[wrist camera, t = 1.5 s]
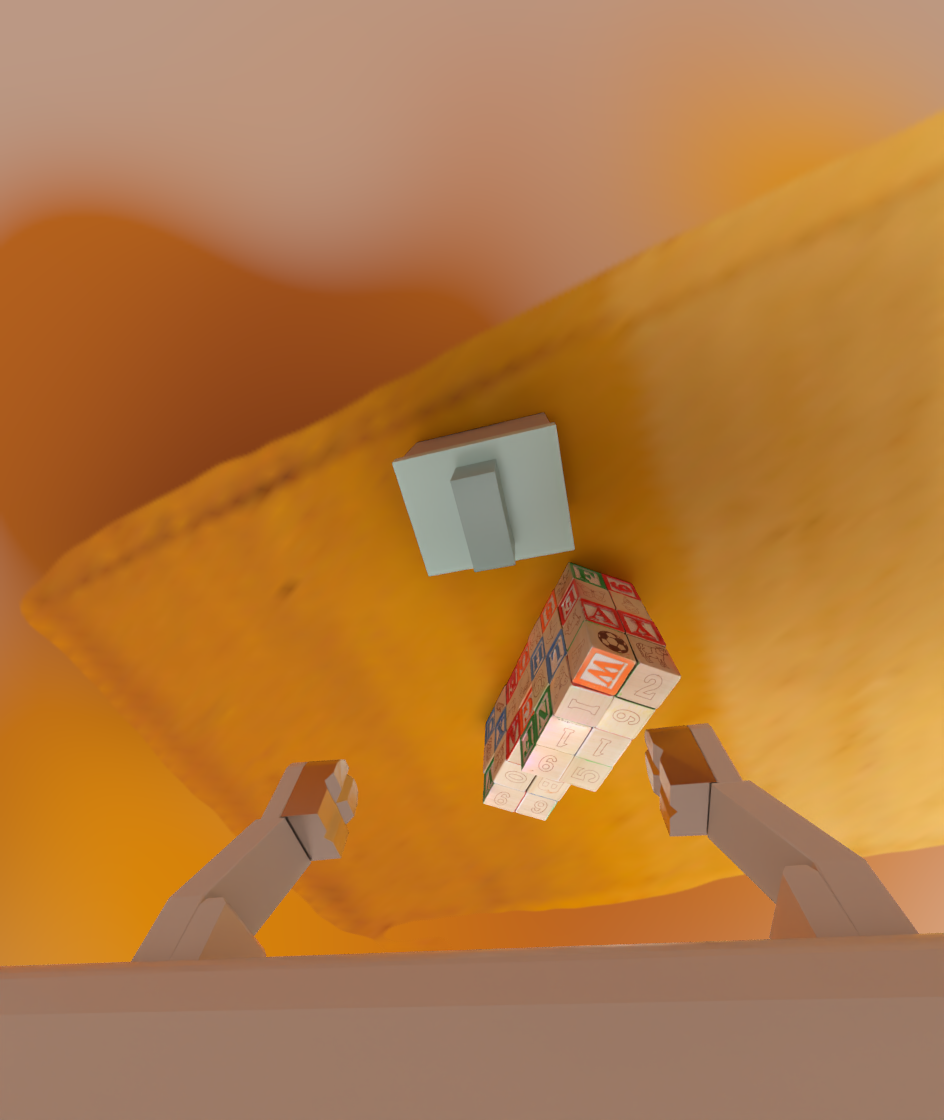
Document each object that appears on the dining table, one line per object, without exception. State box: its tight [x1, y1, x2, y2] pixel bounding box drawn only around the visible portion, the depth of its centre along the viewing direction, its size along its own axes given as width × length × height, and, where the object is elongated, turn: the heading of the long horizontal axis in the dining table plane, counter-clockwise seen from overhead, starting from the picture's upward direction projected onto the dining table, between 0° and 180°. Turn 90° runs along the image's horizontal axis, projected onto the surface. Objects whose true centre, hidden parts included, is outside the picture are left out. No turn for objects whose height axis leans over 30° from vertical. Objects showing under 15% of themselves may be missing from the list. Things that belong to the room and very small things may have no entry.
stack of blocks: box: [483, 562, 681, 821], centre depth 37 cm, size 21×6×12 cm, turn 161°
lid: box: [392, 422, 575, 576], centre depth 28 cm, size 10×8×5 cm
